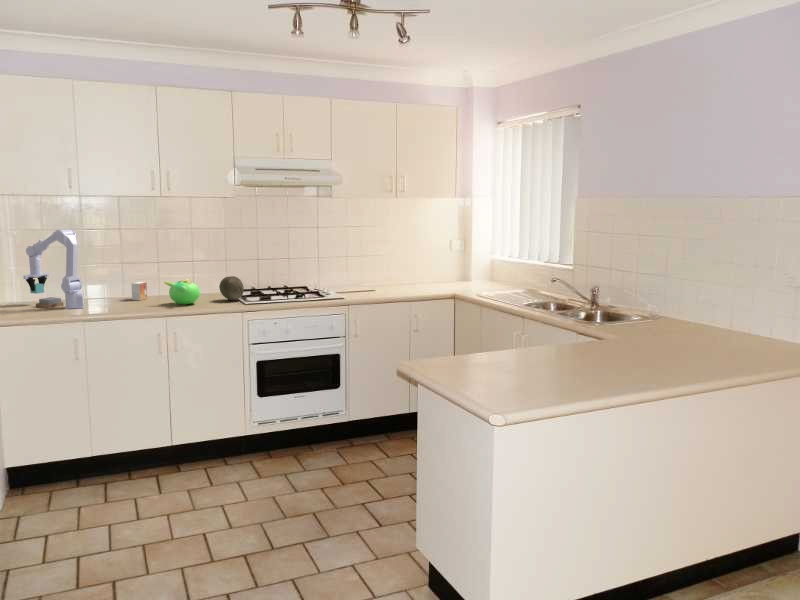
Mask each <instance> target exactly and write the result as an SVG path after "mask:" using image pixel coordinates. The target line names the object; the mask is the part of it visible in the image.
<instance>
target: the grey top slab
mask: <svg viewBox="0 0 800 600" xmlns="http://www.w3.org/2000/svg"><path fill="white" fill-rule="evenodd" d="M61 302H62V298H61V297H53V296H51V297H45V298H38V303H40V304H48V305H49V304H55V303H61Z"/></svg>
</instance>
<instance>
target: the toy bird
mask: <svg viewBox="0 0 800 600" xmlns="http://www.w3.org/2000/svg"><path fill="white" fill-rule="evenodd" d="M163 283H164V284H165V285H167V286H169V287H170V288H169V289H168V290H169V291H168V294H169V297H170V299H171V300H172V302H174V303H176V304H179V305H183V306H184V305H191V304H194V303H196V302H197V300H199V298H200V295H201V290H200V288H199V286H198V285H197V284H196V283H194V282H192V281H190V278H188V279H184V280H180V281H177V282H170V281H164V282H163Z"/></svg>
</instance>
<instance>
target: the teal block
mask: <svg viewBox="0 0 800 600" xmlns="http://www.w3.org/2000/svg"><path fill="white" fill-rule="evenodd" d="M29 291H30V294H42V293H43V294H44V293H45V284H39V282H37V283H35V291H31V289H30V288H29Z"/></svg>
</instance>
